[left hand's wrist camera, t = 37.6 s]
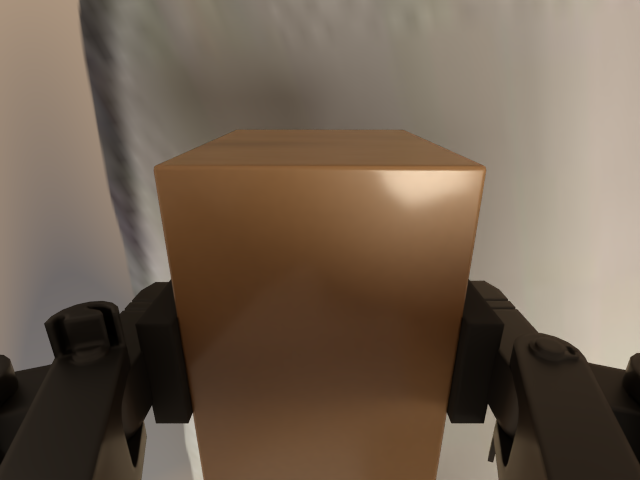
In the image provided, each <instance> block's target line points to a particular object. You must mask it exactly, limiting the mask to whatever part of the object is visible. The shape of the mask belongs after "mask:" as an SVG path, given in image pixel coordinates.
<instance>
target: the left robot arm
mask: <svg viewBox="0 0 640 480" xmlns="http://www.w3.org/2000/svg"><path fill="white" fill-rule="evenodd" d="M44 325H45V328H46V331H47V334H48V337H49V341H50V344H51V347H52V350H53V353H54V356H55V359H54V361H53V363H52V364H51V365H47V366H42V367H37V368H32V369H27V370H22V371H16V372H14V369H13V366H12V364H11V361H10V359H9V358H7V357H6V356H4V355H0V480H141V478H142V471H143V462H144V455H145V446H146V439H147V435H146V429H145V424H144V419H145V417H146V415H147V413H148V411H149V410H150V408H151V406H152V407H153V411H154V416H155V421H156V423H189V420H190V418H191V415H192V413H193V410H192V404H191V398H190V392H189V385H188V379H187V373H186V367H185V361H184V354H183V348H182V342H181V336H180V330H179V324H178V317H177V311H176V305H175V299H174V293H173V286H172V280H170V281H169V282H155V283H153V284H152V285H150V286H148V287H146V288H145V289H143V290H141V291H140V292H139V293H138V295H137V296H136V297H135V298H134V299H133V300H132V302H131V303H129V305H128V306H127V307H126V308H125V311H122V312H121V313H120V314H119V309H118V306H116V305H115V304H113V303H111V302H105V301H94V302H87V303H82V304H77V305H74V306H72V307H69V308H66V309H63V310H62V311H60V312H58V313H56V314H55V315H53V316H51V317H50V318H49V319H48V320H47V321H46V322H45V323H44ZM487 405H489V406H490V408H491V410H492V412H493V414H494V416H495V417H496V419H497V420H496V424H495V429H494V433H493V437H492V442H491V446H490V451H489V456H488V461H490V462H493V460H494V456H495V454H496V462H497V470H498V478H499V480H640V353H636V354H635V355H633V356H632V357H630V360H629V363H628V365H627V368H626V370H622V369H617V368H612V367H607V366H602V365H597V364H592V363H588V362H587V360H586V358H585V357H584V356H583V354H582V353H581V352H580V351H579V349H577V348H576V347H574V346H573V345H571V344H570V343H568V342H566V341H564V340H562V339H559V338H557V337H555V336H551V335H547V334H543V333H538V332H537V331H536V329H535V328H534V327H533V326H532V325H531V324H530V323H529V322H528V321H527V320H526V318H525V317H524V316H523V315H522V314H521V313H520V312H519V311H518V310H517V309H515V306H514V305H513V304H512V303H511V302H510V301H508V299H507V298H506V297H505V295H504V294H503V293H502V292H501V291H500V290H499V289H497V288H496V287H494V286H492V285H491V284H489V283H487V282H485V281H470V280H469V279H468V285H467V291H466V297H465V303H464V309H463V316H462V322H461V328H460V334H459V340H458V346H457V352H456V359H455V365H454V371H453V377H452V383H451V389H450V395H449V402H448V408H447V414H448V416H449V419H450V421H451V423H484V420H485V415H486V410H487Z"/></svg>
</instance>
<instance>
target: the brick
mask: <svg viewBox="0 0 640 480" xmlns="http://www.w3.org/2000/svg"><path fill="white" fill-rule="evenodd" d="M485 174H486V167H485V166H483V165H481V164H479V163H476V162H474V161H472V160H470V159H467V158H465V157H463V156H461V155H458V154H456V153H454V152H452V151H449V150H447V149H445V148H443V147H441V146H438V145H436V144H434V143H432V142H429V141H427V140H425V139H423V138H420V137H418V136H416V135H414V134H411V133H409V132H407V131H405V130H235V131H233V132H231V133H228V134H226V135H224V136H222V137H219V138H217V139H215V140H213V141H210V142H208V143H206V144H204V145H201V146H199V147H197V148H195V149H192V150H190V151H188V152H186V153H183V154H181V155H179V156H176V157H174V158H172V159H170V160H167V161H165V162H163V163H161V164H158V165H156V166H155V167H154V175H155V181H156V187H157V193H158V200H159V206H160V212H161V218H162V224H163V231H164V237H165V243H166V249H167V255H168V262H169V268H170V274H171V280H172V286H173V293H174V299H175V305H176V311H177V317H178V324H179V330H180V336H181V342H182V348H183V354H184V361H185V367H186V373H187V379H188V385H189V392H190V398H191V404H192V410H193V416H194V423H195V429H196V435H197V441H198V447H199V454H200V460H201V466H202V472H203V478H204V480H436V475H437V469H438V463H439V457H440V451H441V445H442V438H443V432H444V426H445V420H446V414H447V408H448V402H449V395H450V389H451V383H452V377H453V371H454V365H455V359H456V352H457V346H458V340H459V334H460V328H461V322H462V316H463V309H464V303H465V297H466V291H467V285H468V279H469V273H470V266H471V260H472V254H473V248H474V242H475V236H476V229H477V223H478V217H479V211H480V205H481V199H482V193H483V186H484V180H485Z"/></svg>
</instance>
